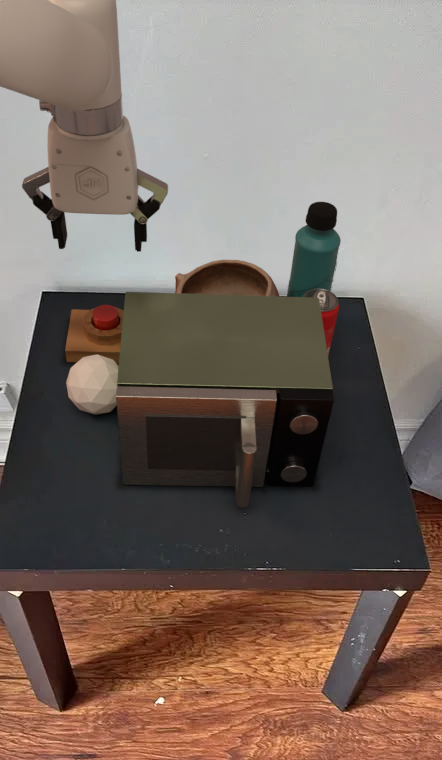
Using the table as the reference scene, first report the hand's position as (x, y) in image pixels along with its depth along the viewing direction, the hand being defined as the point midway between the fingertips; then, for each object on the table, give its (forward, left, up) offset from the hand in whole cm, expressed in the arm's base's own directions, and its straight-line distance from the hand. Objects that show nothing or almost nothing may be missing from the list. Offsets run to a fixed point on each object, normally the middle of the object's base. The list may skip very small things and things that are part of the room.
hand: (101, 243), depth 96 cm
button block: (0, +1, -17) cm, 17 cm away
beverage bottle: (+28, -10, -17) cm, 34 cm away
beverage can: (+23, -18, -17) cm, 34 cm away
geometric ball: (-7, -10, -17) cm, 21 cm away
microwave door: (-4, -30, -17) cm, 35 cm away
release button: (0, +1, -14) cm, 14 cm away
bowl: (+16, -7, -17) cm, 24 cm away
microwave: (+4, -23, -17) cm, 29 cm away
